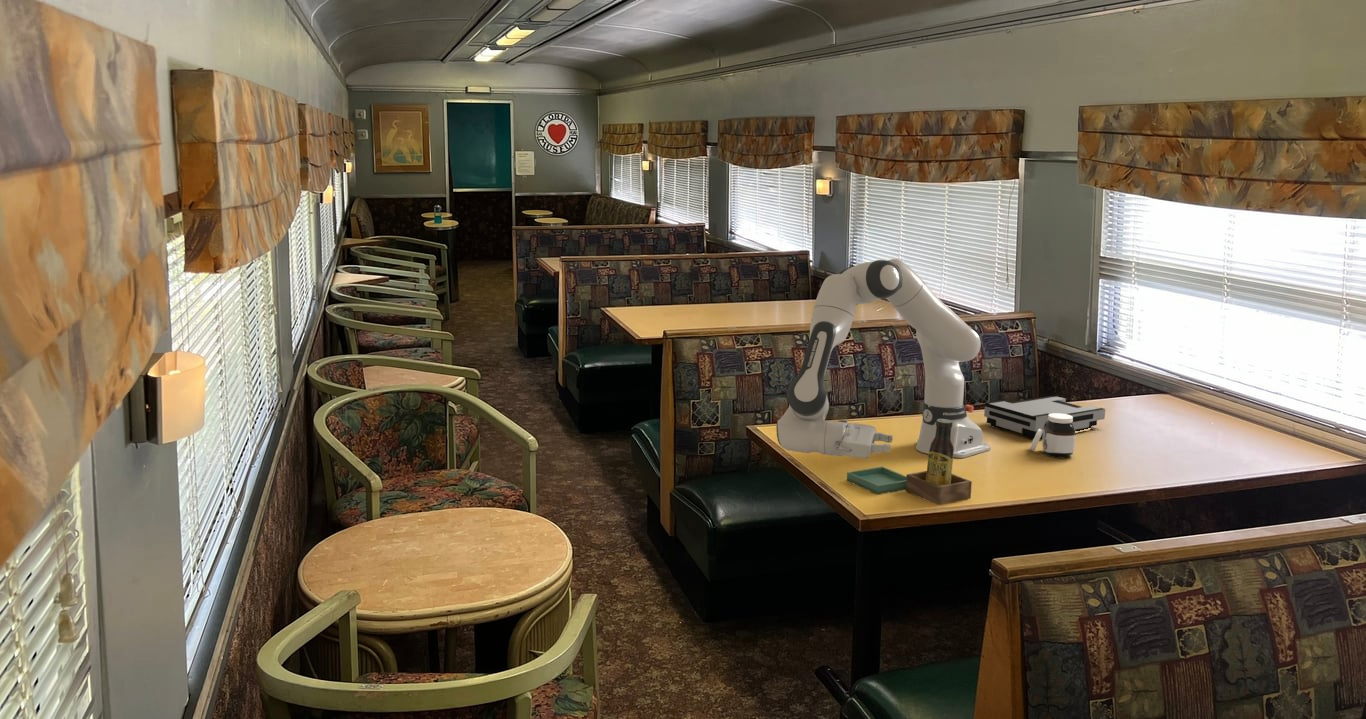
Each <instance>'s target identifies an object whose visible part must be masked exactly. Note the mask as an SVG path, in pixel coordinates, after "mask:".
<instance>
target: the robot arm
mask: <svg viewBox="0 0 1366 719" xmlns="http://www.w3.org/2000/svg"><path fill="white" fill-rule="evenodd" d="M883 299H887V301H888V302H889V303H890V305H891V306H892V307H893V308H894V309H895V310H896V311H897V312H898V314H899V315H900V316H901V317H902V318H903V320H905V322H907V324H908V325H909V326H911V327H912V328H913V329H915V330H916V333H915V335H916V336H915V338H916V340H917V342H918V344H919V347H920V350H921V354H922V355H921V356H922V360H923V362H922V363H923V366H924V376H925V377H924V378H925V380H924V382H925V383H924V385H925V386H924V401H923V402H922V408H921V409H922V410H921V414H922V420H921V424H920V431H919V435H918V439H917V443H916V446H915V448H916V450H917V451H919V452H920V453H924V454H927V455H929V450H930V446H931V443H932V441H933V440H934V438H935V434H936V427H937V426H936V421H937V419H948V420H951V421H952V422H953V424H952V428H951V438H950V439H951V442H952V444H953V447H954V451H953V458H959V459H964V458H968V457H970V456H974V455H978V454H981V453H985V452H988V451H991V446H990V444H988V443H986V442H985V441H984V435H983V430H982V428H981V427H980V426H979V425H977V424H976V422H975V421H973V420H971V418H969V417H968V415H967V412H969V413H973V412H974V409H975V407H974V406H973V405H970V404H966V405H965V404H964V392H965V390H964V389H965V377H964V375H963V373H962V371H961V370H962V369H961V367H960V363H963V362H964V363H965V362H969V361H972V360H973V359H975V358H976V357H977V356H978V354H979V352H980V351H981V344H982V342H981V338H980V335H979V334H978V333H977V332H976V330H974V329H973V328H972V327H970V326H969V325H968V324H967V323H966V322H965V321H964V320H963V319H962V318H961V317H960V316H959V315H958V314H956V313H955V312H954V311H953V310H952V309H951V308H950V307H949V306H948V305H946V304H945V303H944V301H942V300H941V299H940V298H939V297H938V296H937V295H936V294H935V293H934V292H933V290H932V289H931V288H930V287H929V286H928V285H927V284H926V282H925V281H924V280H923V278H922V277H921V276H919V274H917V272H915V271H914V269H913V268H911V267H910V266H909V265H908V264H906V263H905V262H904V261H902V260H901V259H897V258H892V259H888V260H886V259H876V260H873V261H868V262H862V263H859V264H857V265H854V266H851V267H848V268H844V269H842V270H841V271H840V272H839V273H835V274H834V273H833V274H831V275H828V276H827V277H826V278H825V279H824V280H823V282H822V285H821V287H820V289H819V291H818V293H817V297H816V299H815V302H814V305H813V310H812V313H811V318H810V326H809V340H808V344H807V348H806V351H805V354H804V357H803V360H802V364H801V367H800V370H799V372H798V373H797V375H796V376H795V377H794V378H793V380H792V381H791V382H790V384H789V385H788V387H787V391H786V400H787V403H788V404H789V405H788V408H787V409H786V411H785V412H784V414H783V415H782V416H781V418H779V419H778V420H777V422H776V428H775V429H776V437H777V442H778V444H779V445H780V447H781V448H783V449H784V450H786V451H791V452H796V453H797V452H798V453H805V454H811V453H818V454H821V455H826V456H835V457H836V456H837V457H844V456H846V457H851V458H860V459H869V458H870V457H871V455H872V454H879V453H890V452H891V443H893V438H894V437H893V436H894V435H892V434H885V433H882V432H879V431H877V428H876V426H875V425H874V426H873V425H871V424H863V423H858V422H849V421H848V420H846V419H840V420H838V421H831V420H830V421H828V420H826V418H827V415H828V412H829V408H830V402H829V399H828V398H829V397H828V395H827V390H826V385H825V384H826V383H825V375H826V371H827V368H828V364H829V362H830V357H831V355H832V351H833V349H834V348H835V347H836V346H838V345H840V344H842V343H843V342H845V341H846V339H847V337H848V335H849V332H850V330H851V327H852V325H853V324H852V323H853V322H854V321H853V320H854V317H855V313H856V312H855V311H856V307H857V305H863V304H864V305H865V304H870V303H873V302H877V301H880V300H883ZM875 442H884V443H883V444H880V443H879V444H877V443H875ZM886 443H887V444H886Z"/></svg>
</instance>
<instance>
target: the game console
mask: <svg viewBox="0 0 1366 719" xmlns="http://www.w3.org/2000/svg"><path fill="white" fill-rule="evenodd" d="M1066 400H1067V398H1064V397H1059V396H1058V395H1057V396H1056V395H1050V396H1042V397H1035V398H1029V399H1023V400H1017V401H1009V402H1008V401H1005V400H1000V399H999V400H992V401H987V402H984V414H983V417H986V423H987V424H989V425H990V427H992V428H995V429H999V430H1001V431H1014V432H1017V433H1020V434H1022V435H1021V436H1022V437H1025V438H1028V439H1031V440H1033V439H1034V437H1035V435H1036V433H1037V431H1038V429H1041V430H1043V428H1044V425H1045V423H1046V422H1047V421H1048V415H1049V414H1052V413H1061V414H1067V415H1071V416H1072V417H1073V422H1072V424H1073V426H1074V429H1075V431H1080V430H1084V429H1088V428H1091V429H1092V427H1093V426H1097V425H1098V421H1100V420H1105V417H1106V408H1103V407H1099V406H1096V405H1095V406H1094V405H1088V406H1081V405H1077V404H1073V403H1069V402H1066ZM1009 429H1010V430H1009ZM1042 437H1043V433H1042V435H1041V438H1040V440H1039V441H1042V440H1041V439H1042Z"/></svg>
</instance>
